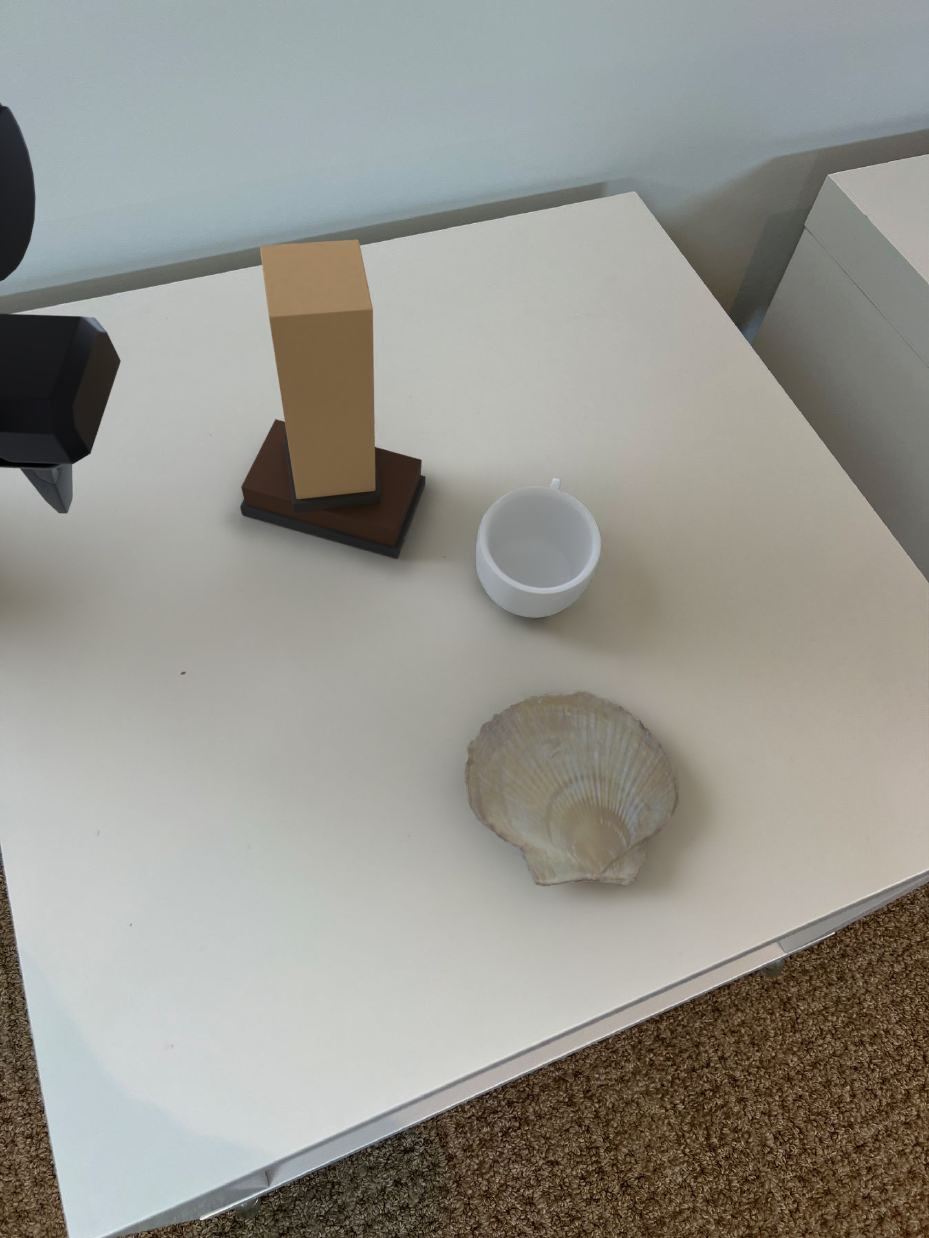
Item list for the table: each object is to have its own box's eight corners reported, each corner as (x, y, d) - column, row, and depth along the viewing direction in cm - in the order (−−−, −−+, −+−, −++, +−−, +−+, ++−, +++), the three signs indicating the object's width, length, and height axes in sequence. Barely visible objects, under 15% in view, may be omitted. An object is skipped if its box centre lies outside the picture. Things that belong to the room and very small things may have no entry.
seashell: (550, 664, 55) (558, 644, 52) (700, 786, 52) (716, 771, 50) (427, 796, 51) (429, 781, 48) (583, 937, 48) (594, 930, 45)
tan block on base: (381, 503, 56) (380, 313, 42) (293, 513, 55) (263, 322, 41) (368, 435, 58) (363, 234, 44) (285, 444, 58) (252, 241, 43)
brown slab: (241, 515, 58) (234, 488, 56) (277, 443, 61) (272, 414, 59) (397, 559, 58) (397, 535, 55) (425, 484, 61) (427, 457, 58)
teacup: (570, 647, 56) (588, 608, 51) (456, 615, 56) (463, 573, 51) (600, 524, 60) (619, 478, 56) (495, 495, 61) (504, 447, 56)
